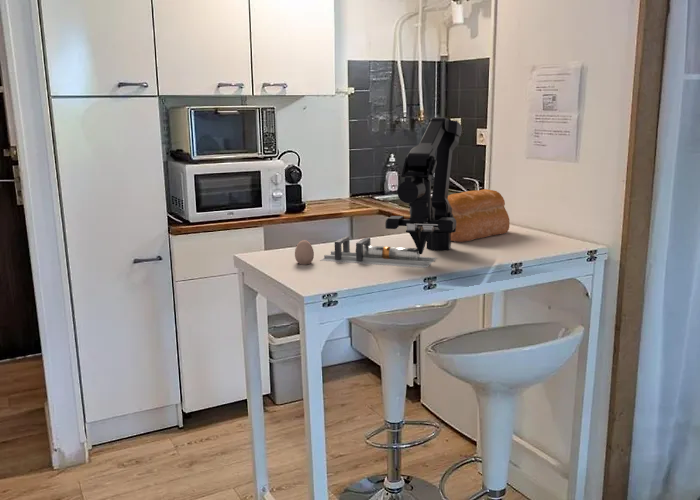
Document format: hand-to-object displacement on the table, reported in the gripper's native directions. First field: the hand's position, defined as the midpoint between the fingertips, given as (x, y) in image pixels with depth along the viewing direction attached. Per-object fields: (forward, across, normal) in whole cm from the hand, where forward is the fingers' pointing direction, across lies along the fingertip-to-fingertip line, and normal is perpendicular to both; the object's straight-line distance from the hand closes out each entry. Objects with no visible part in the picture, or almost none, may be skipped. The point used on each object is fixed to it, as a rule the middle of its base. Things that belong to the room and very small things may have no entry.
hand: (420, 253), depth 183 cm
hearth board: (+3, +12, 0) cm, 13 cm away
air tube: (+2, +10, 0) cm, 10 cm away
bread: (+3, -7, -44) cm, 45 cm away
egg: (+3, +31, +10) cm, 33 cm away
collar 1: (+2, +23, 0) cm, 23 cm away
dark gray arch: (+2, +17, 0) cm, 17 cm away
